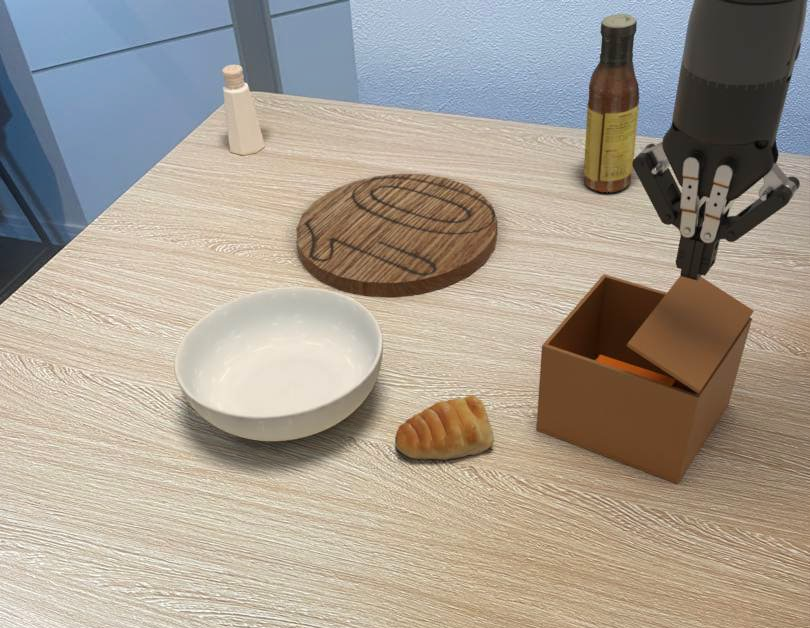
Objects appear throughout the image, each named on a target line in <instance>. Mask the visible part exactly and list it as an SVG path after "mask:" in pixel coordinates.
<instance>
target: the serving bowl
mask: <svg viewBox="0 0 810 628" xmlns="http://www.w3.org/2000/svg"><path fill="white" fill-rule="evenodd" d="M382 331H383V330H382V328H381V325H380V324H379V321H378V320H377V318H376V317H375V315H374V314H373V313H372V312H371V311H370V309H368V308H367V307H366V306H364V305H363V304H362V303H360V302H359V301H358V300H356V299H353V298H352V297H350V296H348V295H346V294H344V293H340V292H336V291H333V290H330V289H323V288H318V287H309V286H283V287H274V288H273V287H272V288H269V289H264V290H258V291H255V292H251V293H247V294H245V295H241V296H238V297H235V298H233V299H231V300H228V301H227V302H225V303H222V304H220V305H219V306H217V307H214V308H213V309H212V310H210V311H209V312H207V313H206V314H205V315H204V316H202V317H201V318H200V319H198V320H197V321H196V322H195V323H194V324H193V325H192V326H190V328H189V330H188V331H187V332H186V333H185V334H184V336H183V338H182V339H181V341H180V342H179V344H178V346H177V349H176V351H175V354H174V361H173V371H174V372H173V373H174V376H175V380H176V382H177V384H178V386H179V388H180V390H181V392H182V394H183V395H184V398H185V399H186V400H187V402H188V403H189V404H190V406H191V407H192V408H193V409H194V410H195V412H196V413H197V414H198V415H199V416H201V417H202V418H203V419H204V420H205V421H207V422H208V423H210V425H212V426H214V427H215V428H217V429H219V430H221V431H223V432H226V433H228V434H230V435H233V436H236V437H240V438H243V439H248V440H254V441H260V442H284V441H285V442H286V441H292V440H298V439H303V438H307V437H310V436H313V435H316V434H318V433H321V432H323V431H326V430H328V429H330V428H332V427H334V426H336V425H337V424H339V423H341V422H342V421H344V420H345V419H347V418H348V417H349V416H351V415H352V414H353V413H354V412H355V411H356V410H357V409H358V408H359V407H360V406H361V405H362V404H363V403H364V401H366V399H367V397H368V396H369V395H370V394H371V391H372V390H373V388H374V387H375V384H376V382H377V380H378V377H379V375H380V371H381V366H382V362H383V354H384V336H383V332H382Z"/></svg>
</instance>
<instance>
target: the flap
mask: <svg viewBox="0 0 810 628" xmlns="http://www.w3.org/2000/svg"><path fill="white" fill-rule="evenodd" d="M666 293H667V294H666V295H665V296H664V297H663V299H662V300H661V301H660V302H659V304H658V305H657V306H656V308H655V309H654V310H653V311H652V313H651V314H650V315H649V317H648V318H647V319H646V320H645V322H644V323H643V324H642V326H641V327H640V328H639V329H638V331H637V332H636V333H635V335H634V336H633V337H632V338H631V340H630V341H629V342H628V344H627V345H626V346H627V347H629V348H630V349H632V350H633V351H635V352H636V353H638V354H639V355H641V356H642V357H644V358H645V359H647V360H648V361H650V362H651V363H653V364H654V365H656V366H657V367H659V368H660V369H662V370H663V371H665V372H667V373H668V374H670V375H671V376H673V377H674V378H676V379H677V380H679V381H680V382H682V383H683V384H685V385H686V386H688V387H689V388H691V389H692V390H694V391H695V392H697V393H699V392H700V391H701V389H702V388H703V386H704V385H705V383H706V382H707V380H708V379H709V377H710V376H711V374H712V373H713V372H714V370H715V369H716V367H717V366H718V364H719V363H720V361H721V360H722V358H723V357H724V355H725V354H726V352H727V351H728V349H729V348H730V346H731V345H732V343H733V342H734V340H735V339H736V337H737V336H738V334H739V333H740V331H741V330H742V328H743V327H744V325H745V324H746V322H747V321H748V319H749V318H751V316H752V315H753V313H754V312H755V310H754V309H752V308H751V307H749V306H748V305H746V304H744V303H743V302H741V301H740V300H738V299H737V298H735V297H734V296H732V295H731V294H729V293H727V292H726V291H724V290H723V289H721V288H719V287H718V286H716V285H715V284H714V283H711V282H710V281H709V280H707V279H705V278H704V277H703V276H701V277H700V278H699V279H698V281H697V280H693V279H690V278H686V277H682V276H680V275H679V277H678V278H677V279H676V280H675V282H674V283H673V285H672V286H671V287H670V289H668V291H667V292H666Z"/></svg>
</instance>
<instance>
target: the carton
mask: <svg viewBox="0 0 810 628" xmlns="http://www.w3.org/2000/svg"><path fill="white" fill-rule="evenodd" d="M666 294H667V292H666V291H663V290H659V289H656V288H652V287H649V286H646V285H642V284H639V283H635V282H632V281H628V280H626V279H623V278H618V277H615V276H611V275H609V274H606V273H603V274H602V276H600V278H599V279H598V280H597V281H596V282H595V284H593V286H592V287H591V288H590V289H589V290H588V291H587V292H586V294H585V295H584V296H583V297H582V298H581V299H580V301H579V302H578V303H577V304H576V305H575V306H574V308H573V309H572V310H571V311H570V312H569V313H568V314H567V316H566V317H565V318H564V319H563V320H562V321H561V322H560V324H559V325H558V326H557V327H556V328H555V330H554V331H553V332H552V333H551V334H550V336H548V337H547V339H546V340H545V341H544V342H543V344H542V345H541V353H540V370H539V384H538V398H537V414H536V427H535V428H536V429H535V430H536V431H538V432H541V433H542V434H546V435H549V436H551V437H554V438H557V439H559V440H561V441H564V442H567V443H569V444H572V445H574V446H577V447H579V448H583V449H585V450H587V451H591V452H593V453H595V454H598V455H601V456H603V457H605V458H609V459H611V460H614V461H616V462H618V463H621V464H624V465H626V466H629V467H631V468H635V469H638V470H640V471H642V472H645V473H648V474H650V475H653V476H656V477H659V478H661V479H663V480H666V481H668V482H672V483H674V484H677V485H679V484H680V482H681V481H682V478H683V477H684V475H685V474H686V472H687V470H688V469H689V467H690V466H691V464H692V463H693V461H694V460H695V458H696V457H697V455H698V453H699V452H700V450H701V448H702V447H703V446H704V444H705V442H706V441H707V439H708V437H709V436H710V434H711V433H712V432H713V430H714V428H715V426H716V425H717V424H718V422H719V420H720V418H721V417H722V415H723V414H724V413H725V411H726V409H727V407H728V406H729V405H730V400H731V397H732V394H733V390H734V386H735V382H736V379H737V375H738V371H739V368H740V364H741V360H742V357H743V353H744V349H745V346H746V343H747V339H748V336H749V332H750V327H751V324H752V321H753V318H752V317H750V318H749V319H748V321H747V322H746V324H745V325H744V327H743V328H742V330H741V331H740V333H739V334H738V336H737V337H736V339H735V340H734V342H733V343H732V345H731V346H730V348H729V349H728V351H727V352H726V354H725V355H724V357H723V358H722V360H721V361H720V363H719V364H718V366H717V367H716V369H715V370H714V372H713V373H712V374H711V376H710V377H709V379H708V380H707V382H706V383H705V385H704V386H703V388H702V389H701V391H700V392H699V393H697V392H695V391H694V390H692V389H691V388H689V387H688V386H686V385H685V384H683V383H682V382H680V381H679V380H677V379H676V378H674V377H673V376H671V375H670V374H668V373H667V372H665V371H663V370H662V369H660V368H659V367H657V366H656V365H654V364H653V363H651V362H650V361H648V360H647V359H645V358H644V357H642V356H641V355H639V354H638V353H636V352H635V351H633V350H632V349H630V348H629V347H627V346H626V345H627V344H628V342H629V341H630V340H631V338H632V337H633V336H634V335H635V333H636V332H637V331H638V329H639V328H640V327H641V326H642V324H643V323H644V322H645V320H646V319H647V318H648V317H649V315H650V314H651V313H652V311H653V310H654V309H655V308H656V306H657V305H658V304H659V302H660V301H661V300H662V299H663V297H664V296H665V295H666ZM599 355H603V356H606V357H609V358H613V359H616V360H619V361H622V362H625V363H628V364H631V365H634V366H637V367H640V368H643V369H646V370H649V371H652V372H656V373H659V374H662V375H665V376H668V377H671V378H674V379H676V385H675V387H672V386H669V385H666V384H663V383H660V382H657V381H654V380H651V379H648V378H645V377H642V376H639V375H636V374H633V373H630V372H627V371H624V370H622V369H619V368H616V367H613V366H610V365H607V364H604V363H601V362H598V361H595V360H596V359H597V358H598V357H599Z"/></svg>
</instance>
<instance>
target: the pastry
mask: <svg viewBox="0 0 810 628" xmlns="http://www.w3.org/2000/svg"><path fill="white" fill-rule="evenodd" d="M394 438H395V439H394V445H395V447H396V448H397V450H398V451H399V452H400V453H402V454H403V455H405V456H406V457H408V458H410V459H416V460H424V461H427V460H437V461H447V460H453V459H459V458H464V457H466V456H470V455H472V456H475V455H479V454H482V453H483V452H486V451H487V450H488V449H490V448H491V447H492V446H493V445H494V443H495V437H494V431H493V428H492V425H491V423H490V420H489V416H488V412H487V410H486V407H485V405H484V402H483V401H482V400H481V399H480V398H479V397H478V396H476V395H473V394H470V395H467V396H465V397H462V398H451V399H447V400H441V401H437V402H435V403H434V404H432V405H431V406H429V407H427V408H425V409H423V410H422V411H421V412H419V413H417V414H414V415H413V416H411V417H410V418H408V419H407V420H405V422H403V423H402V424H400V425H398V428H397V430H396V433H395V436H394Z"/></svg>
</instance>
